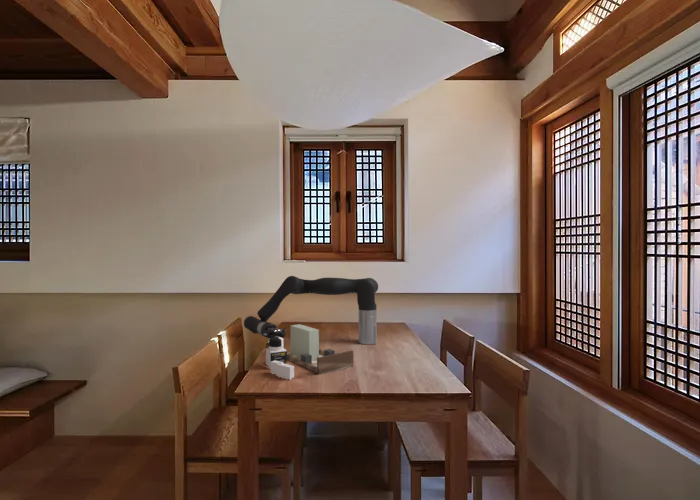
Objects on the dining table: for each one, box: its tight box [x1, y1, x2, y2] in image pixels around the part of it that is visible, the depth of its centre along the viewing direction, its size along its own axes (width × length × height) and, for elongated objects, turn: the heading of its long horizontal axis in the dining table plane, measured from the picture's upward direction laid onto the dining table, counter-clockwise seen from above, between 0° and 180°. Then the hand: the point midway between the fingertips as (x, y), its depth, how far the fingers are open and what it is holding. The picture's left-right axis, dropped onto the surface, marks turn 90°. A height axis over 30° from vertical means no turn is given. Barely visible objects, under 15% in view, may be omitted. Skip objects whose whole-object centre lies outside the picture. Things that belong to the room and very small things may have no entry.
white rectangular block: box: [270, 360, 295, 381], centre depth 166 cm, size 15×11×6 cm
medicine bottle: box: [265, 337, 288, 370], centre depth 178 cm, size 7×7×12 cm
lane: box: [287, 348, 354, 375], centre depth 186 cm, size 36×17×6 cm, turn 38°
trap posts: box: [301, 348, 336, 364], centre depth 183 cm, size 4×15×4 cm, turn 128°
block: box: [290, 323, 320, 361], centre depth 191 cm, size 16×5×13 cm, turn 38°
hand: (283, 335), depth 206 cm, fingers closed
